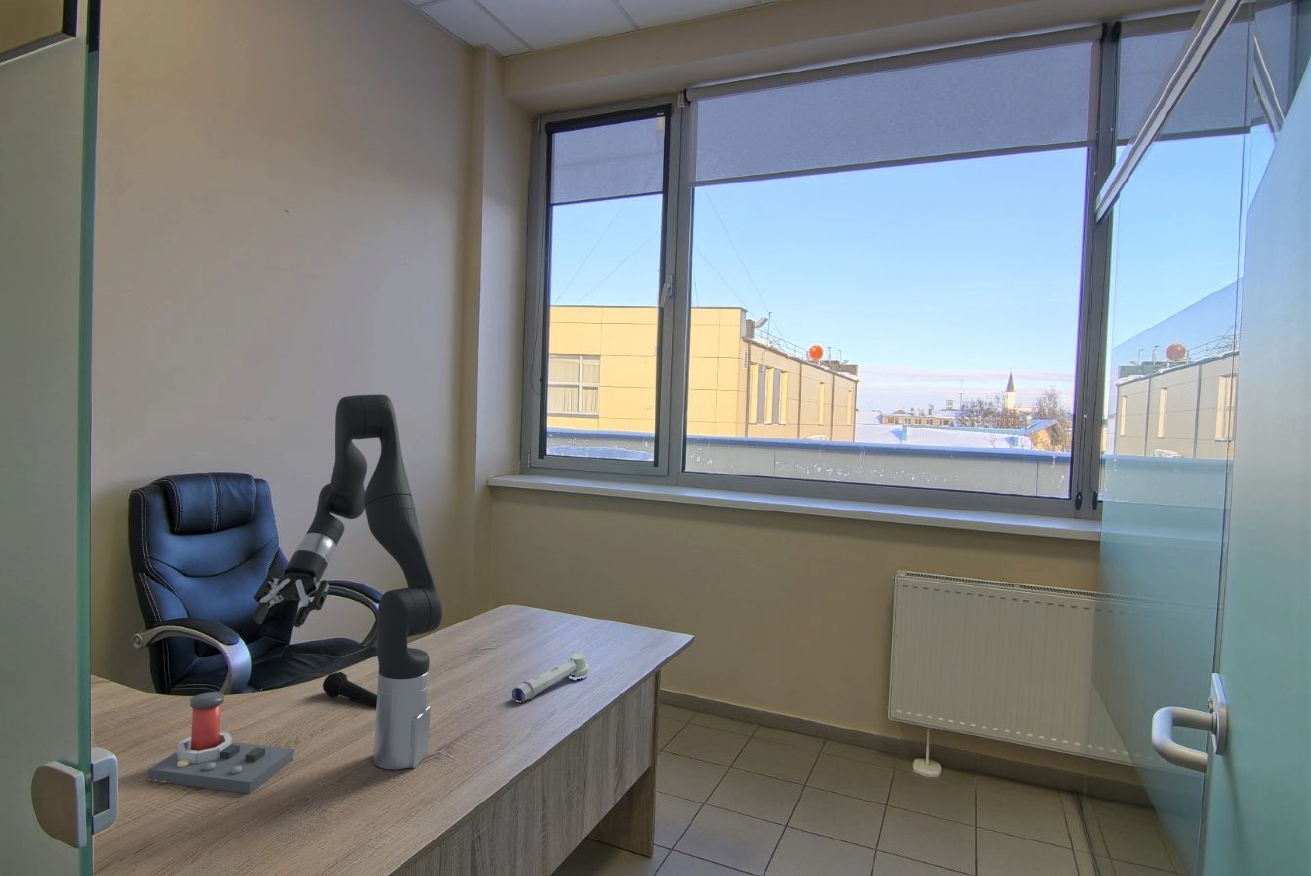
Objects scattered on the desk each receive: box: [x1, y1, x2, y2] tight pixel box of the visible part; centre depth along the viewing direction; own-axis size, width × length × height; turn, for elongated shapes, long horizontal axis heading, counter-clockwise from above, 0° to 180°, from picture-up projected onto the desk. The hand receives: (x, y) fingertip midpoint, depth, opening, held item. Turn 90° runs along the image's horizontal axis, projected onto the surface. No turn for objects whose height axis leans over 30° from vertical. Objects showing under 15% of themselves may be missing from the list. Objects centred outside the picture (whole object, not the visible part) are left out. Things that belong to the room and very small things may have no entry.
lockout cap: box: [189, 691, 225, 751], centre depth 127 cm, size 5×5×10 cm
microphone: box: [322, 671, 377, 708], centre depth 157 cm, size 6×6×20 cm
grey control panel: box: [147, 731, 294, 794], centre depth 125 cm, size 19×12×4 cm, turn 84°
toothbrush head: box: [511, 652, 590, 703], centre depth 173 cm, size 5×7×25 cm
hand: (276, 623), depth 143 cm, fingers open, 8 cm apart
